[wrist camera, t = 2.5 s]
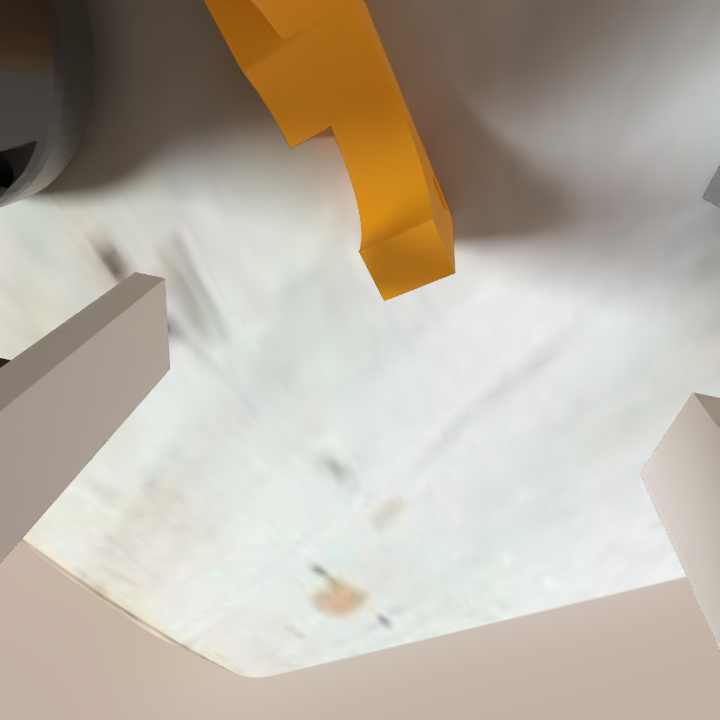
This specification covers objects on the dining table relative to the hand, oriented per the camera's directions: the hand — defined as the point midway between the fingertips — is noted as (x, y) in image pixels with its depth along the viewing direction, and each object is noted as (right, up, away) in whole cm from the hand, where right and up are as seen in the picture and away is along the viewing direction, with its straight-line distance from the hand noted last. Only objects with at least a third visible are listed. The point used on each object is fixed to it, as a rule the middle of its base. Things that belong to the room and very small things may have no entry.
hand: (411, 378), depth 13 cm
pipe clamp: (-2, +11, +7) cm, 13 cm away
